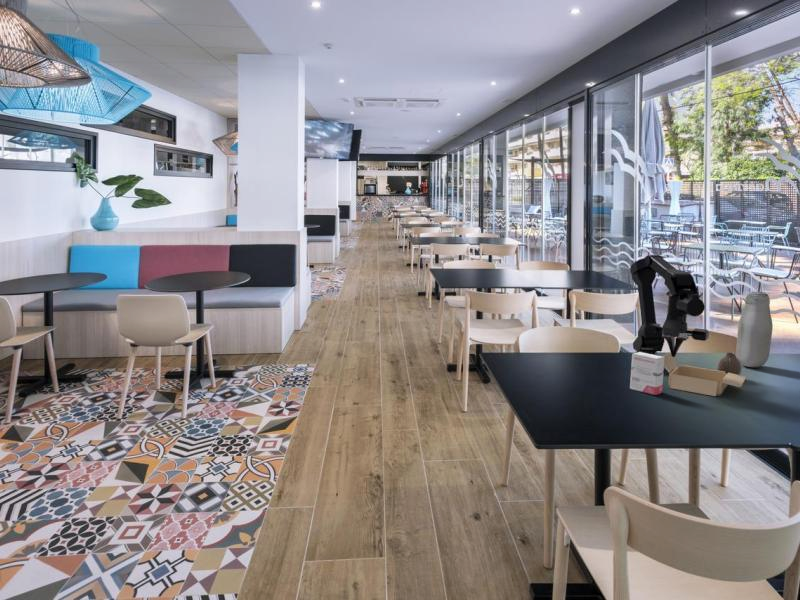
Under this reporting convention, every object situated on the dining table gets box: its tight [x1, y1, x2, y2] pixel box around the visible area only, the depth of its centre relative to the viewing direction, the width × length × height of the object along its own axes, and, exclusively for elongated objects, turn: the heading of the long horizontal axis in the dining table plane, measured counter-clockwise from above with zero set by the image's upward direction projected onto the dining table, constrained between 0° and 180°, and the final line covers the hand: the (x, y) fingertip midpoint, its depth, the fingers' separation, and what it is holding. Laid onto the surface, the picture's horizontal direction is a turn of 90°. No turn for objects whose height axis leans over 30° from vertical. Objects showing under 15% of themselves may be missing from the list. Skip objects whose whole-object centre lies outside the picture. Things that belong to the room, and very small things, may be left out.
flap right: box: [722, 373, 747, 388], centre depth 173 cm, size 1×12×5 cm
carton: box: [667, 364, 728, 397], centre depth 179 cm, size 15×17×4 cm
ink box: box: [629, 352, 665, 396], centre depth 174 cm, size 9×5×12 cm, turn 39°
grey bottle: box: [735, 291, 773, 369], centre depth 200 cm, size 10×10×28 cm
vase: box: [717, 352, 742, 375], centre depth 187 cm, size 7×7×9 cm
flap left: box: [662, 351, 679, 374], centre depth 184 cm, size 1×12×5 cm
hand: (673, 356), depth 183 cm, fingers closed
